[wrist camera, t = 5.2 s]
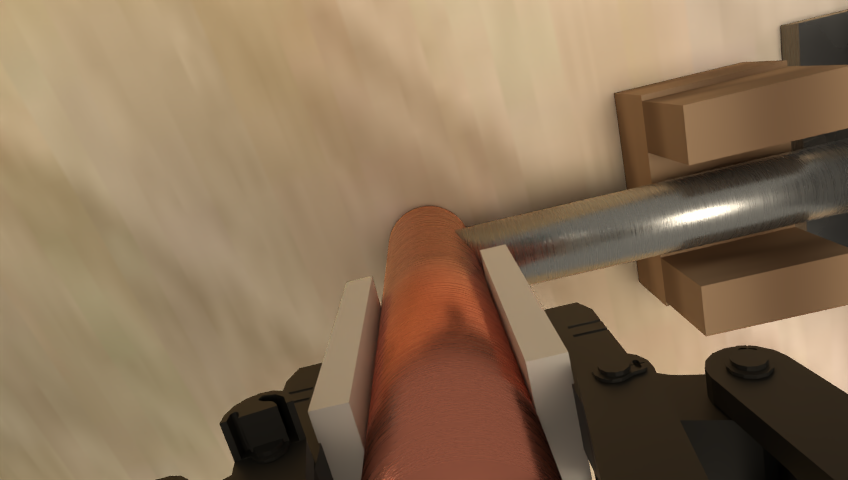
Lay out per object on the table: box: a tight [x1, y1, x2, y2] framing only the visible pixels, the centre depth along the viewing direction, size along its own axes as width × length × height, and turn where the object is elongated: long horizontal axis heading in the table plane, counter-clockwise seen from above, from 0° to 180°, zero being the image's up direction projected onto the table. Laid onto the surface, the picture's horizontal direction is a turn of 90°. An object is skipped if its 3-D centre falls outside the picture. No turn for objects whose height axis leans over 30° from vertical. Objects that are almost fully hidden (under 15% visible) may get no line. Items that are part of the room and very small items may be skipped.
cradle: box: [614, 60, 848, 336], centre depth 20 cm, size 5×8×6 cm, turn 13°
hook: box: [361, 138, 848, 480], centre depth 15 cm, size 24×3×15 cm, turn 103°
